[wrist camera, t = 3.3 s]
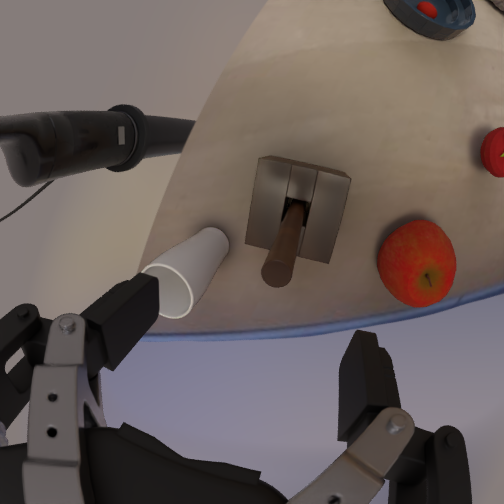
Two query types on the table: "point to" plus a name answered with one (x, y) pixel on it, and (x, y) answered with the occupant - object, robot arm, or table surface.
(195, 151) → the table surface
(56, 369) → the robot arm
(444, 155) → the table surface
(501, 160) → the strawberry
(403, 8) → the bowl
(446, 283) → the apple
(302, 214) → the stirring stick
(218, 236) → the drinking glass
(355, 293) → the table surface
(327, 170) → the holder
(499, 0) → the sea urchin shell
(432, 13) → the ball
